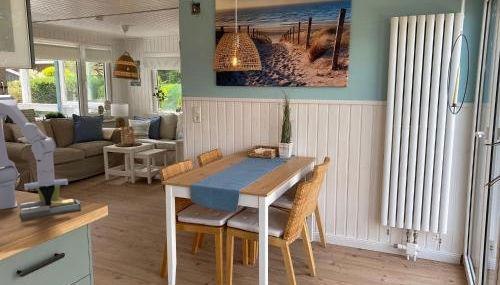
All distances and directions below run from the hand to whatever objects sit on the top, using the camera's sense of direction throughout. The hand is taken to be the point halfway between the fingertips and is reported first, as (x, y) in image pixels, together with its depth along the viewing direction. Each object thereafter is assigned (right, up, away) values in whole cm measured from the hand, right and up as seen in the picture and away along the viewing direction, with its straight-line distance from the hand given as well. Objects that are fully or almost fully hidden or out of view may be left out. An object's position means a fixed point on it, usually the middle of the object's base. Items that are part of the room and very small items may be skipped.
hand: (48, 205), depth 148 cm
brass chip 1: (+2, -1, +1) cm, 3 cm away
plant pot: (-4, -1, +9) cm, 10 cm away
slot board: (-4, -3, -2) cm, 5 cm away
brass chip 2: (+6, -1, +4) cm, 7 cm away
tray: (+4, -2, +3) cm, 6 cm away
